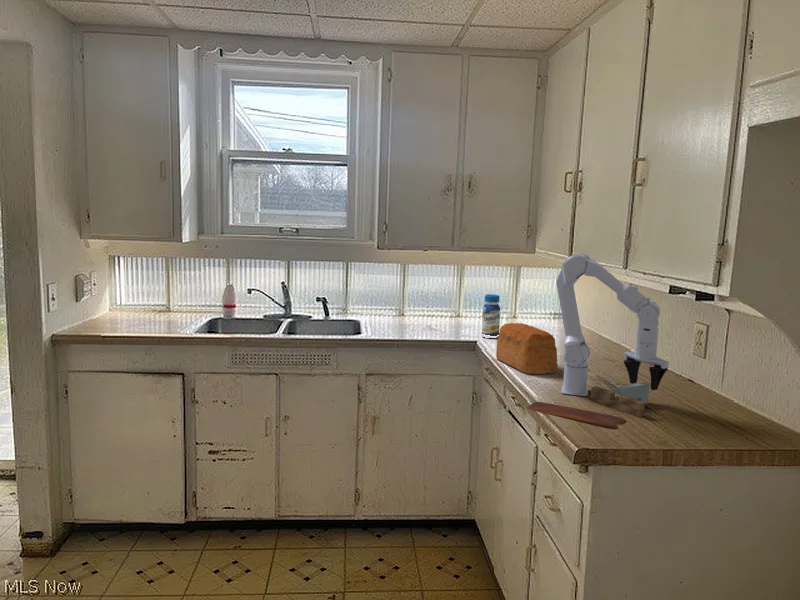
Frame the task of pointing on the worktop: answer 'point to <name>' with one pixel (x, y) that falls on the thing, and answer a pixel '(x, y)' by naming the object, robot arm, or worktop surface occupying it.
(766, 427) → the worktop surface
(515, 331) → the bread
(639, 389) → the grey notched plate
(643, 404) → the walnut slotted rail
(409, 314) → the worktop surface
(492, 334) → the beverage bottle
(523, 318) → the worktop surface
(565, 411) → the wooden tablet
